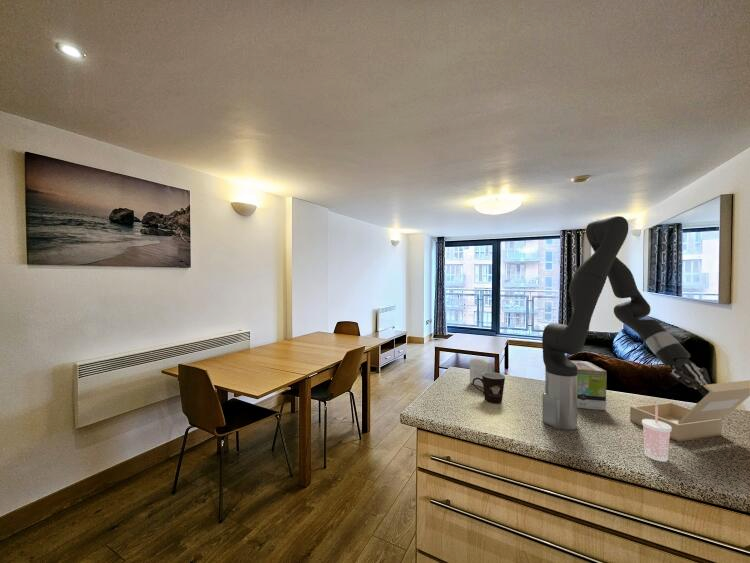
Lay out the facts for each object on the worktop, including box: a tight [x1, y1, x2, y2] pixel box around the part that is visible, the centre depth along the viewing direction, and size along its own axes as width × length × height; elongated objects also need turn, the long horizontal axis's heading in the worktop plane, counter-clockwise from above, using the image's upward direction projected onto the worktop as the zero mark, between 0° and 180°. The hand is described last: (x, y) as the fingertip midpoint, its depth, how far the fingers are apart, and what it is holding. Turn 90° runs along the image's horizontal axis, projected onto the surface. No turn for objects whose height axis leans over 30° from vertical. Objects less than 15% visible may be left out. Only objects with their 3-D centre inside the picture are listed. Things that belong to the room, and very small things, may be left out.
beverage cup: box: [642, 405, 672, 462], centre depth 86 cm, size 6×6×14 cm
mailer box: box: [629, 401, 723, 443], centre depth 103 cm, size 18×14×5 cm
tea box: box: [569, 359, 608, 411], centre depth 124 cm, size 15×10×15 cm, turn 168°
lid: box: [678, 379, 750, 424], centre depth 93 cm, size 18×15×2 cm
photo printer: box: [469, 357, 493, 388], centre depth 143 cm, size 10×4×12 cm, turn 36°
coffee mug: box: [471, 371, 506, 405], centre depth 126 cm, size 12×9×10 cm
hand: (712, 399), depth 93 cm, fingers closed
